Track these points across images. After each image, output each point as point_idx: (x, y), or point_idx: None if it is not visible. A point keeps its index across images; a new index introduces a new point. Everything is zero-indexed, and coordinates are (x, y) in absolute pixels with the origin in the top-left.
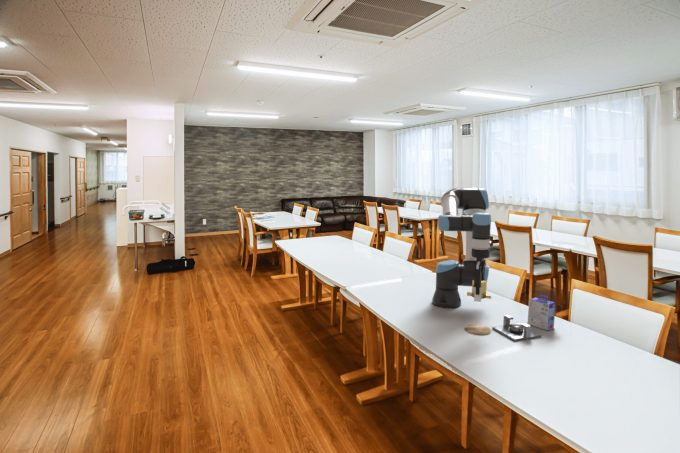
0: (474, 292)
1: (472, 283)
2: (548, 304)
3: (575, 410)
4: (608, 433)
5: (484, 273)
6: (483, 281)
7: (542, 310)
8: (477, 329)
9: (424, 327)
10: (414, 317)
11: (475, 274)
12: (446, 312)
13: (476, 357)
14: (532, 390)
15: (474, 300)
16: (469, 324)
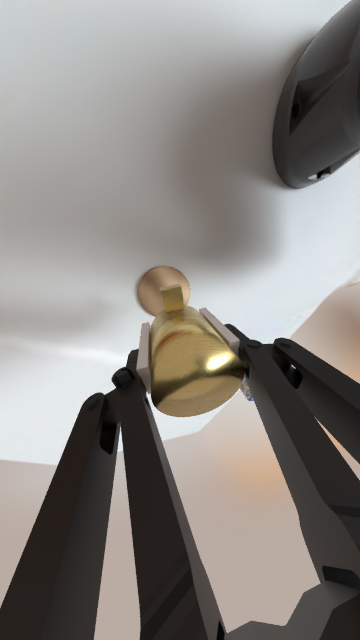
0: (151, 338)
1: (169, 350)
2: (248, 399)
3: (41, 437)
4: (31, 454)
5: (315, 410)
6: (209, 400)
7: (244, 380)
8: (160, 295)
9: (64, 143)
10: (117, 17)
11: (4, 629)
12: (235, 165)
13: (43, 341)
14: (34, 412)
15: (142, 325)
16: (176, 270)
